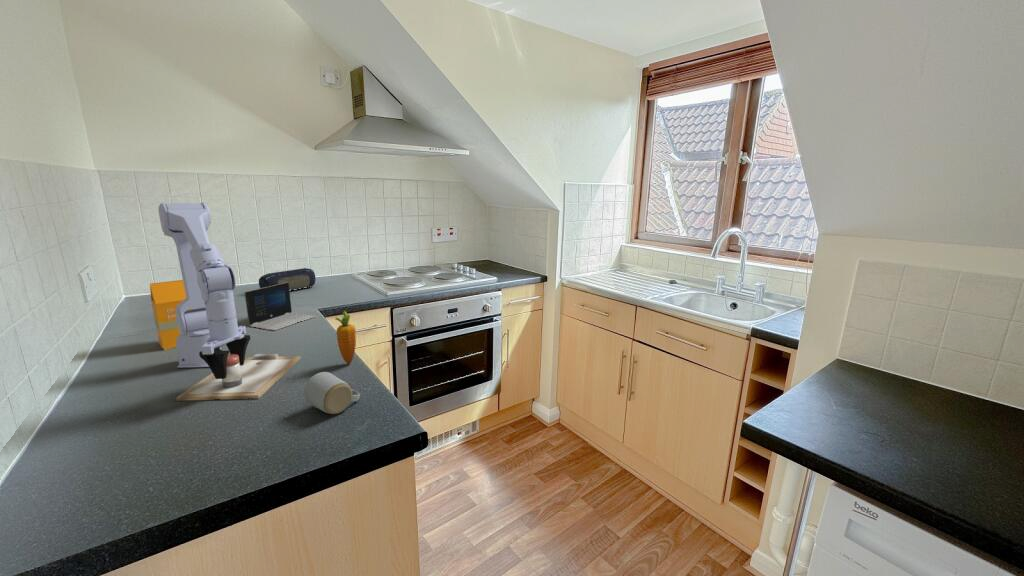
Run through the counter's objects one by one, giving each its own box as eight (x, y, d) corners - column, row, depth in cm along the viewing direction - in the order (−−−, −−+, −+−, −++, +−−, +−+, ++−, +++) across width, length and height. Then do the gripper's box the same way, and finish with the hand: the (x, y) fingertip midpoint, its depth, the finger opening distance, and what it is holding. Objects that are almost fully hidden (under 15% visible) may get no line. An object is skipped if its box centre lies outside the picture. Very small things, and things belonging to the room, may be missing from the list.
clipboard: (177, 400, 97) (175, 393, 97) (235, 360, 120) (234, 354, 120) (258, 398, 98) (257, 391, 98) (300, 358, 122) (300, 352, 121)
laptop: (274, 332, 145) (269, 295, 142) (248, 327, 150) (243, 291, 147) (315, 318, 162) (312, 284, 159) (291, 314, 166) (287, 282, 163)
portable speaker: (268, 297, 191) (265, 276, 189) (257, 294, 196) (255, 273, 194) (320, 287, 211) (318, 268, 209) (309, 285, 216) (307, 266, 214)
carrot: (352, 368, 115) (347, 315, 112) (335, 367, 116) (330, 314, 113) (361, 361, 120) (357, 310, 117) (346, 360, 121) (341, 309, 118)
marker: (218, 388, 101) (214, 361, 100) (228, 380, 105) (224, 354, 104) (236, 388, 102) (232, 360, 100) (245, 380, 105) (242, 354, 104)
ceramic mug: (325, 421, 89) (323, 387, 87) (304, 410, 93) (301, 377, 92) (368, 402, 97) (366, 371, 96) (347, 392, 102) (345, 362, 100)
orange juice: (198, 343, 134) (188, 281, 129) (163, 350, 127) (151, 285, 123) (193, 337, 139) (183, 277, 134) (158, 344, 133) (147, 281, 128)
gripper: (221, 327, 93) (230, 384, 96) (255, 309, 107) (262, 359, 110) (187, 327, 92) (197, 385, 95) (226, 309, 106) (233, 360, 109)
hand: (230, 371), depth 103 cm, fingers open, 7 cm apart
